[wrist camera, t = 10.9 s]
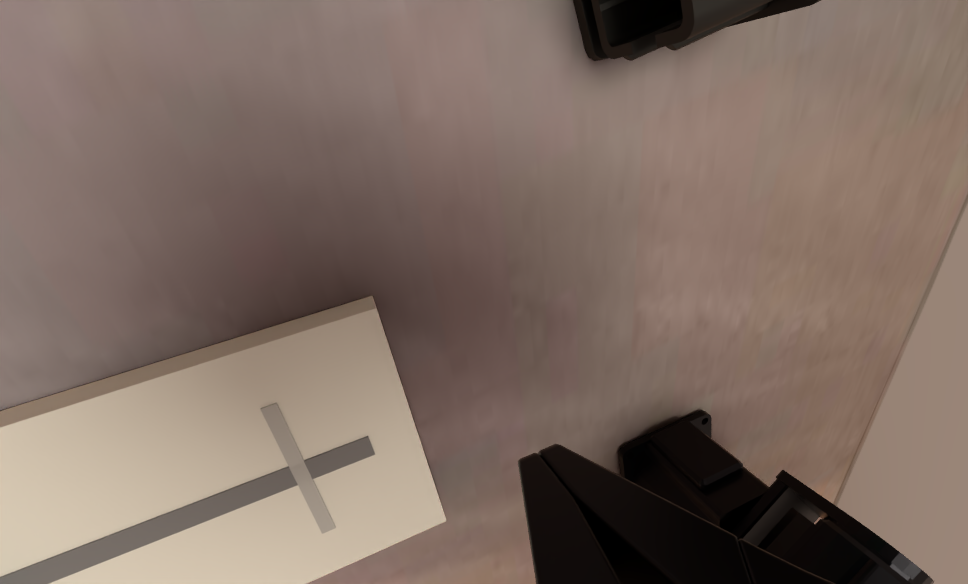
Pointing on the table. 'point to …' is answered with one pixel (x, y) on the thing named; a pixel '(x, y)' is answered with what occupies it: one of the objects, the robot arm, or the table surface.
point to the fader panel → (220, 464)
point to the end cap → (664, 22)
